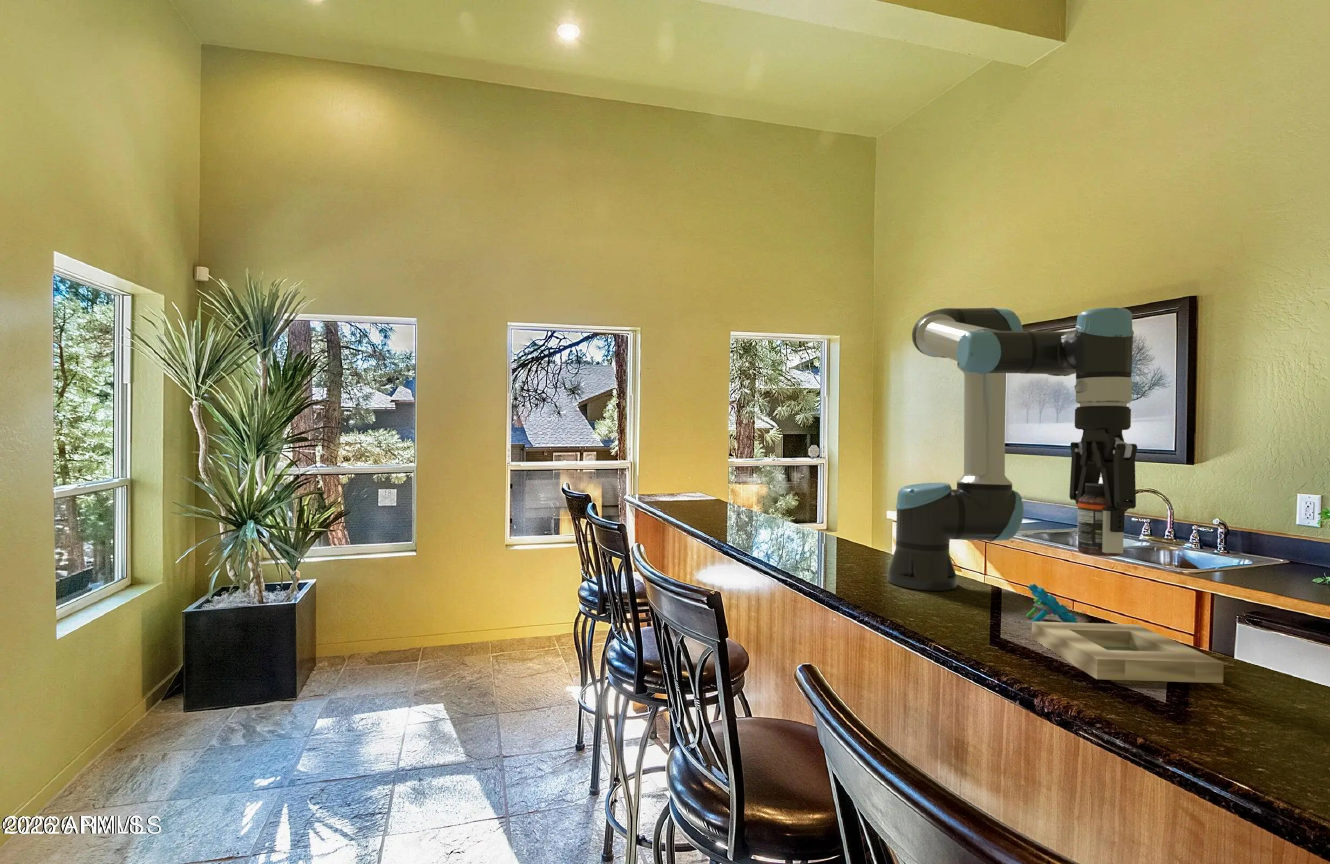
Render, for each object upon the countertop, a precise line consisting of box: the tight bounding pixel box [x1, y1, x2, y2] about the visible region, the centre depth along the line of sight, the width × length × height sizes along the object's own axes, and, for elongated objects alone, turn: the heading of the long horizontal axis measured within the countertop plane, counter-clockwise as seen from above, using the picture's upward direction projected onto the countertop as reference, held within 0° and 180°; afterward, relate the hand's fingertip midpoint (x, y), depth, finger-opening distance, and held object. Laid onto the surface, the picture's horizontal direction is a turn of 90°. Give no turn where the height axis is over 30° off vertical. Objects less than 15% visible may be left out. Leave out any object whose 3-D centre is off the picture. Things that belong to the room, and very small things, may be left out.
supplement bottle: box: [1077, 482, 1122, 558], centre depth 105 cm, size 6×6×11 cm
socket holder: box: [1031, 621, 1225, 684], centre depth 104 cm, size 18×18×3 cm
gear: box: [1025, 583, 1079, 623], centre depth 122 cm, size 11×6×10 cm
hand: (1099, 548), depth 105 cm, fingers closed on supplement bottle, 6 cm apart
